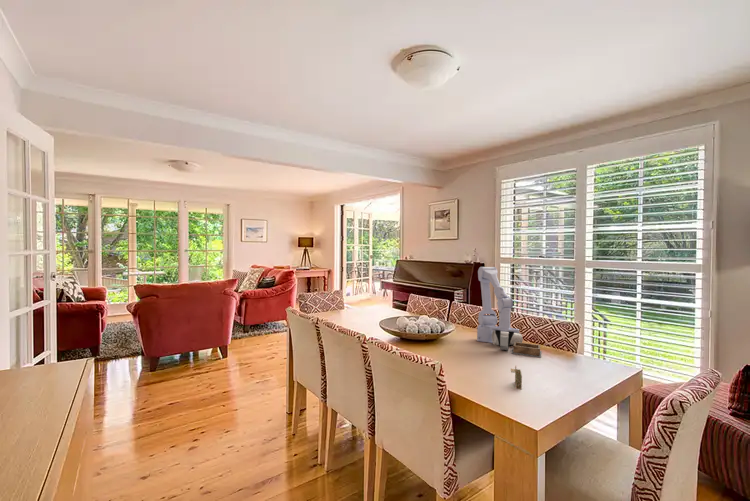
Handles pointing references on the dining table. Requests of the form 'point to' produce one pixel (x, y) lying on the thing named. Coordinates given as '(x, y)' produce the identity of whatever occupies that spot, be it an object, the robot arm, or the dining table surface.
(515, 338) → the coffee cup
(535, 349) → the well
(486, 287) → the robot arm
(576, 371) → the dining table surface
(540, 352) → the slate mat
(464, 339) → the dining table surface
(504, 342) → the brushed aluminum block
